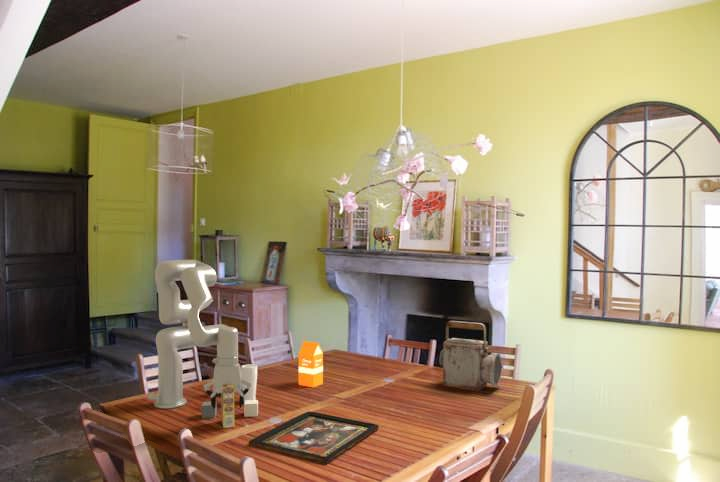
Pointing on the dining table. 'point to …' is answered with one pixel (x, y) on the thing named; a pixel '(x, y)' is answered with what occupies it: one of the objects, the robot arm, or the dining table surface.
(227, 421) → the candy box
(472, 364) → the lantern
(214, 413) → the dark grey block
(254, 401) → the off-white block
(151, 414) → the dining table surface
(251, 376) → the drinking glass
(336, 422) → the framed painting
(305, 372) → the orange juice
